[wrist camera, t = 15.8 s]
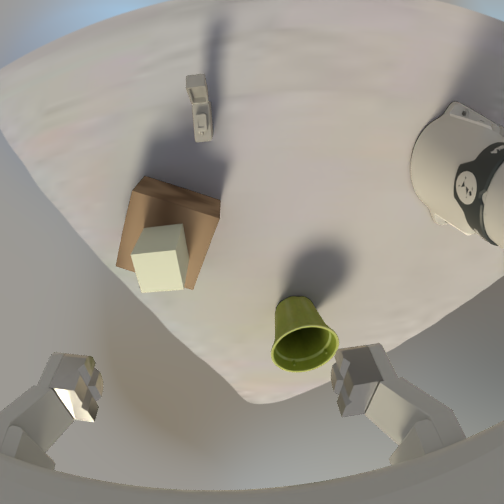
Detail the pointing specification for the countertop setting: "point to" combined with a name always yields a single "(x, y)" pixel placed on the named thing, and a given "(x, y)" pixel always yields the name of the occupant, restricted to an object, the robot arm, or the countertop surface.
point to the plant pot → (301, 336)
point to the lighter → (200, 107)
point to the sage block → (161, 258)
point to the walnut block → (170, 221)
